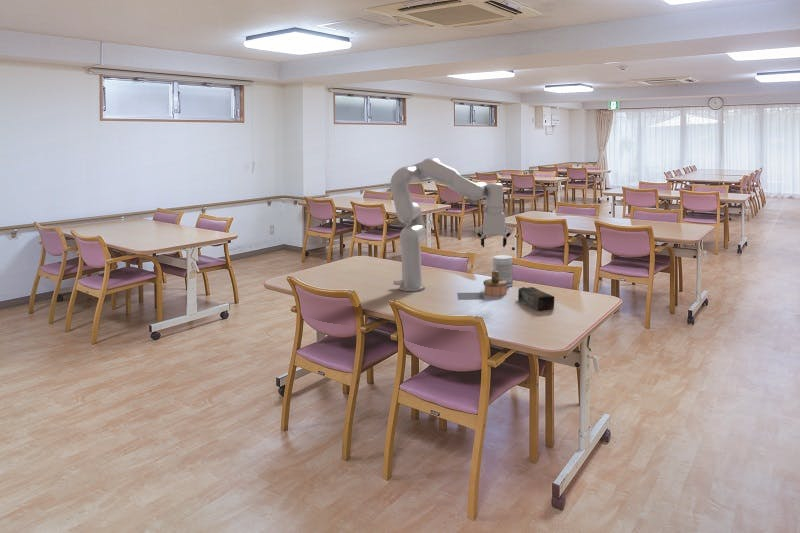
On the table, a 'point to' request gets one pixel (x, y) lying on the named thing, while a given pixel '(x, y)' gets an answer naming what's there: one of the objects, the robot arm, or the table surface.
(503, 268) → the supplement tub
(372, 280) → the table surface
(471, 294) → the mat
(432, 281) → the table surface
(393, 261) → the table surface
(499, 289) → the bowl
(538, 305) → the beverage carton
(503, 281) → the lid
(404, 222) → the robot arm
